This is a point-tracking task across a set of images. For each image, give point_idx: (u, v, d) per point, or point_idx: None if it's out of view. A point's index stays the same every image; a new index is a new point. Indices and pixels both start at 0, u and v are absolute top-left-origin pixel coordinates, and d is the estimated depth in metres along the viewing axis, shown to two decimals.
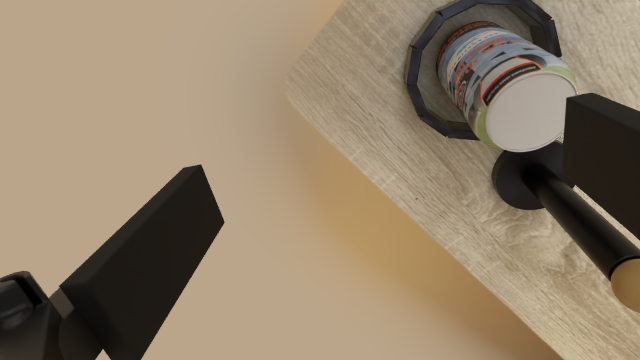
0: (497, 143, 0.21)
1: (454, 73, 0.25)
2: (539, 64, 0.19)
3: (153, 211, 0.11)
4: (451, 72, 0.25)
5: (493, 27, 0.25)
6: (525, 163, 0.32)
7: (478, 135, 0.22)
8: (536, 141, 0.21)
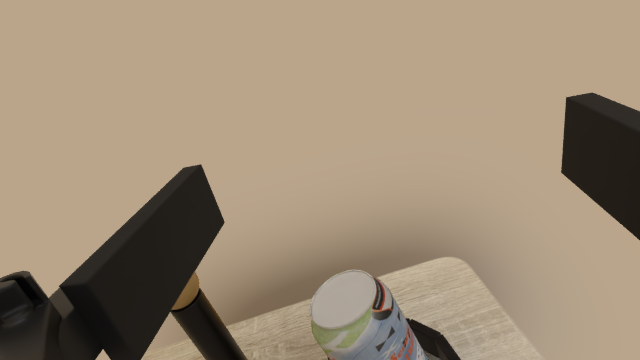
0: (334, 276, 0.26)
1: None
2: (376, 312, 0.22)
3: (153, 211, 0.11)
4: None
5: None
6: None
7: None
8: (317, 300, 0.25)
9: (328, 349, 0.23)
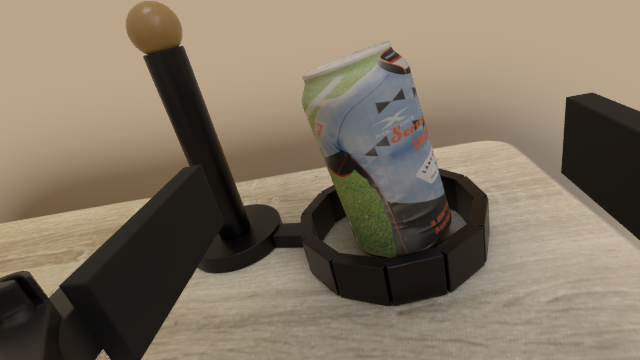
0: (342, 57, 0.21)
1: None
2: (384, 62, 0.17)
3: (153, 211, 0.11)
4: None
5: (431, 200, 0.19)
6: (257, 226, 0.26)
7: None
8: (315, 71, 0.20)
9: (315, 106, 0.18)
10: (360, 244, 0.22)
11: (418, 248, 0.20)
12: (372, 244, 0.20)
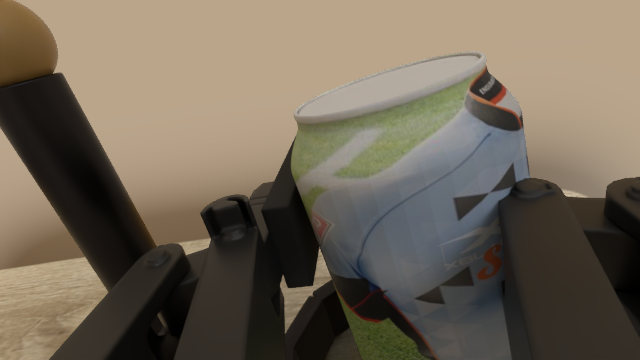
0: (374, 75, 0.11)
1: None
2: (480, 101, 0.07)
3: None
4: None
5: None
6: None
7: None
8: (322, 100, 0.10)
9: (315, 185, 0.08)
10: None
11: None
12: None
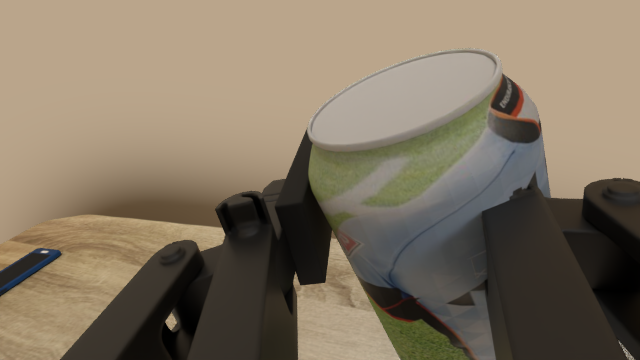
0: (379, 72, 0.11)
1: None
2: (502, 118, 0.07)
3: None
4: None
5: None
6: None
7: None
8: (331, 110, 0.10)
9: (341, 210, 0.08)
10: None
11: None
12: None
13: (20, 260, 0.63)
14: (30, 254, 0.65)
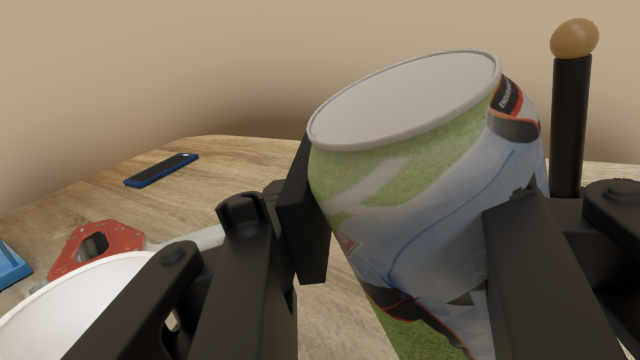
0: (378, 72, 0.11)
1: None
2: (501, 117, 0.07)
3: None
4: None
5: None
6: None
7: None
8: (330, 110, 0.10)
9: (341, 210, 0.08)
10: None
11: None
12: None
13: (168, 159, 0.77)
14: (175, 156, 0.78)
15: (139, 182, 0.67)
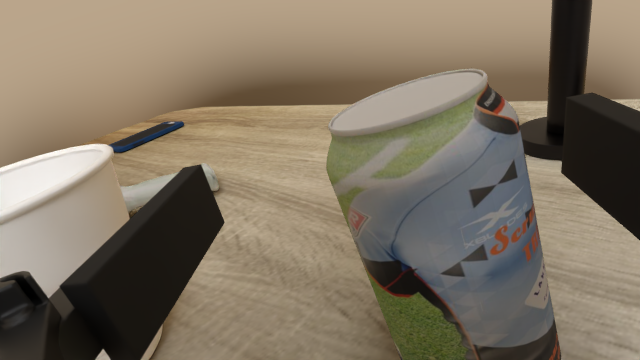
0: (389, 89, 0.13)
1: None
2: (485, 113, 0.09)
3: (153, 211, 0.11)
4: None
5: (542, 337, 0.11)
6: None
7: None
8: (348, 114, 0.12)
9: (354, 185, 0.10)
10: None
11: None
12: None
13: (152, 127, 0.74)
14: (160, 124, 0.75)
15: (120, 146, 0.64)
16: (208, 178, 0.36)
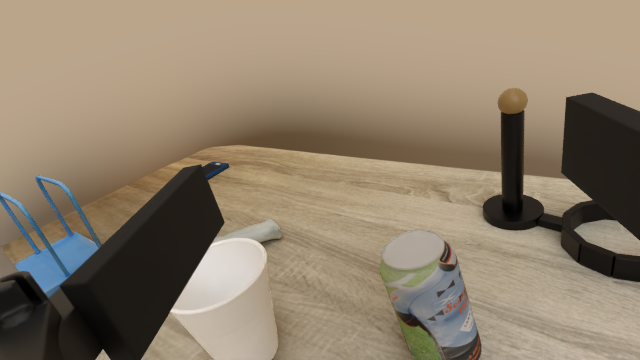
0: (405, 232, 0.30)
1: None
2: (442, 263, 0.26)
3: (153, 211, 0.11)
4: None
5: (469, 343, 0.28)
6: (528, 210, 0.45)
7: None
8: (389, 248, 0.29)
9: (394, 286, 0.27)
10: None
11: None
12: None
13: (202, 167, 0.91)
14: (208, 164, 0.92)
15: None
16: (275, 231, 0.53)
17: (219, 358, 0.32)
